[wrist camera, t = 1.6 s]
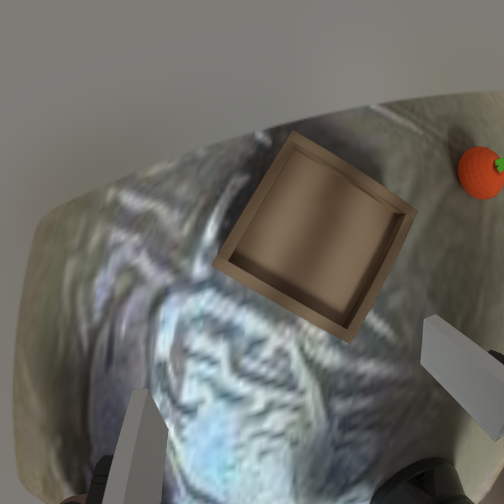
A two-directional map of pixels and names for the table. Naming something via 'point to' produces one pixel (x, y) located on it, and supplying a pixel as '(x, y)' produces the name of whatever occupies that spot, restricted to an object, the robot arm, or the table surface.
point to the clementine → (481, 172)
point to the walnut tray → (317, 237)
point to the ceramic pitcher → (76, 499)
